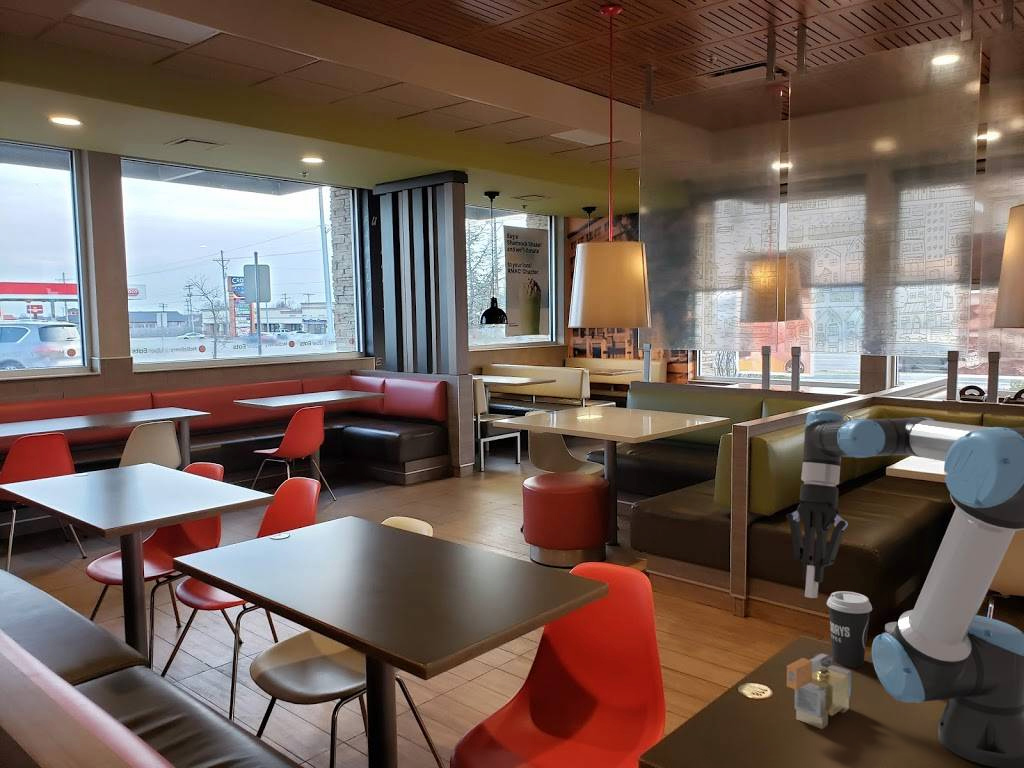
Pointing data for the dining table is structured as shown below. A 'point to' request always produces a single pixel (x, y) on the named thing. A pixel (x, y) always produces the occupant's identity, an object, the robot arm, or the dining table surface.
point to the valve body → (823, 696)
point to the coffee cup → (849, 627)
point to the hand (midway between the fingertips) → (811, 597)
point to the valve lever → (806, 670)
